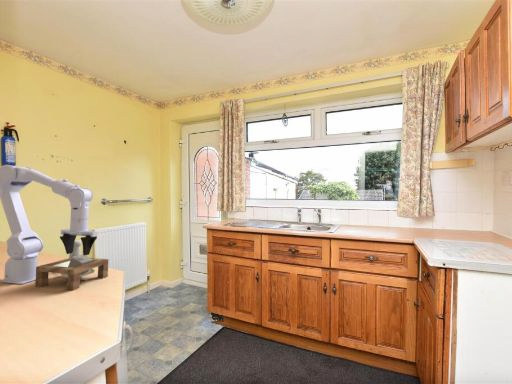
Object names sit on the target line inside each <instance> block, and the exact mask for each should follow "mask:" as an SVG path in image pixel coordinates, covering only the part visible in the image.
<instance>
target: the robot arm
mask: <svg viewBox="0 0 512 384" xmlns="http://www.w3.org/2000/svg"><path fill="white" fill-rule="evenodd" d="M32 182H35V183H38V184H41V185H43V186H46V187H48V188H51V191H52V193H54V194H57V195H59V196H61V197H64V198H65V199H68V202H69V203H70V219H69V220H70V222H69V223H70V224H69V228H68V229H67V228H63V229H60V235H62V236H59V239H60V241H61V242H62V244H63V246H64V249H65V253H66V255H70V253H73V248H74V242H75V240H77V239H76V238H77V236H81V237H80V240H81V241H82V254H83V255H84V256H89V255H90V253H91V251H92V248H93V245H94V243H95V241H96V240H97V239H98V231H96V230H91V229H89V216H90V215H89V213H90V211H89V210H90V202H91V201H92V200H93V192H92V191H91V190H90V189H88V188H86V187H83V188H81V186H80V185H79V184H74V183H72V182H70V180H69V179H67V178H66V179H61V178H60V179H55V178H52V177H51V176H49V175H47V174H44V173H43V172H41V171H39V170H38V169H35V168H34V169H33V168H31V167H27V166H17V165H16V166H15V165H11V164H4V165H2V166H0V202H1V205H2V208H3V211H4V215H5V217H6V220H7V223H8V226H9V229H10V233H11V235H10V237H8V239H7V240H6V245H7V246H6V254H7V255H8V256H9V258H8V259H7V260H6V262H5V264H4V279H3V280H1V283H9V284H17V285H23V284H27V283H29V282H30V283H31V282H33V281H36V267H37V266H39V265H38V261H39V255H40V253H41V251H42V250H43V249H44V241H43V240H42V239H41V238H40V237H39V234H38V233H37V232H35V231H34V230H32V228H31V225H30V223H29V220H28V216H27V214H26V211H25V207H24V205H23V201H22V197H21V196H20V192H21V190H23V189H24V188H25V187H27V186H28V185H29V184H30V183H32Z"/></svg>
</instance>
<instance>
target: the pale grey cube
mask: <svg viewBox="0 0 512 384" xmlns="http://www.w3.org/2000/svg"><path fill="white" fill-rule="evenodd" d="M81 254H82V255H78V256H75V257H72V258H71V260H70V263H69V266H68V267H71V268H75V267H79V266H82V265H85V264H88V263H91V262H92V261H93V259H91V258H92V257H89V256H88V255H85V256H84V255H83V253H81ZM88 271H89V270H86V271H83V272H80V274H82V273H85V272H88Z"/></svg>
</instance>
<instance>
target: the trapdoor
mask: <svg viewBox="0 0 512 384" xmlns="http://www.w3.org/2000/svg"><path fill="white" fill-rule="evenodd" d="M69 263H70V261H67V262H64V263H60V264H57V265H53V266H60V267H68V266H69ZM93 273H95V269H94V268H92V269H89V271H88V272H85V273H82V274H80V278H82V277H85V276H88V275H91V274H93ZM59 275H61V276H63V277H65V278H67V279H68V274H62V273H59Z"/></svg>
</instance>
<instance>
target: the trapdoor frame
mask: <svg viewBox="0 0 512 384" xmlns="http://www.w3.org/2000/svg"><path fill="white" fill-rule="evenodd" d="M90 258H91V259H93V261H92V262H91V263H88V264H85V265H82V266H79V267H75V268H71V267H60V266H53V265H57V264H60V263H64V262H67V261H70V260H71V258H69V257H68V258H65V259H61V260H57V261H54V262H49V263H46V264H42V265H37V267H36V280H35V283H34V284H35V287H38V288H39V287H40V288H42V287H44V286H47V285H49V273H54V274H60V273H62V274H68V278H67V286H66V287H67V289H66V290H68V291H76V290H78V289H80V285H81V281H80V280H81V277H80V272H83V271H86V270H89V269H94V268H97V278H98V279H105V278H107V277H108V276H109V258H99V257H98V258H97V257H90Z"/></svg>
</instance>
